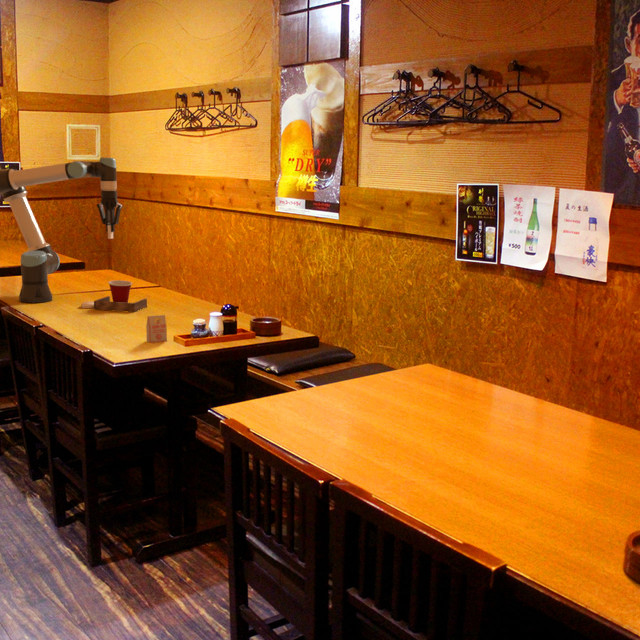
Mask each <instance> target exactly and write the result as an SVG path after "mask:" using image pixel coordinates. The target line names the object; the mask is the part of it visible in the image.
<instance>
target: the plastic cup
mask: <svg viewBox="0 0 640 640" xmlns="http://www.w3.org/2000/svg"><path fill="white" fill-rule="evenodd" d="M107 283H108V285H109V290H110V292H111V293H110V294H111V298H112V302H124V303H129V297H130V291H131V287H132V285H133V282H131V281H128V280H121V279H119V280H110V281H107Z"/></svg>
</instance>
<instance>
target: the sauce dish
mask: <svg viewBox="0 0 640 640" xmlns="http://www.w3.org/2000/svg"><path fill="white" fill-rule="evenodd" d="M80 305H81V306H80V308H81V307H82V308H81V309H85V308H92V309H94V301H85V302H82V303H80Z"/></svg>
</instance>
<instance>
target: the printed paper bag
mask: <svg viewBox="0 0 640 640" xmlns="http://www.w3.org/2000/svg"><path fill="white" fill-rule="evenodd" d="M146 319H147V320H146V326H145V327H146V342H148V343H149V344H155V342H156V343H163V342H164V341H166V342H168V336H167V335H168V333H167V332H168V330H167V329H168V328H167V322H166V321H167V320H166V315H165V314H161V315H149V316H147V318H146Z"/></svg>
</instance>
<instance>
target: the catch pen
mask: <svg viewBox="0 0 640 640" xmlns="http://www.w3.org/2000/svg"><path fill="white" fill-rule="evenodd" d="M93 302H94V308H93V309H99V310H98V311H109V310H115V311H114V312H123V311H128V312H127V313H135V312H138V310H139V311H141V310H144V309H146V308H148V299H147V298H142V299H140V300H137V301H134V302H128V303H124V302H113V301H111V296H110V295H108V296H105V297H102V298H98V299H95V300H93ZM145 307H146V308H145ZM143 308H144V309H143ZM140 309H141V310H140Z"/></svg>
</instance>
